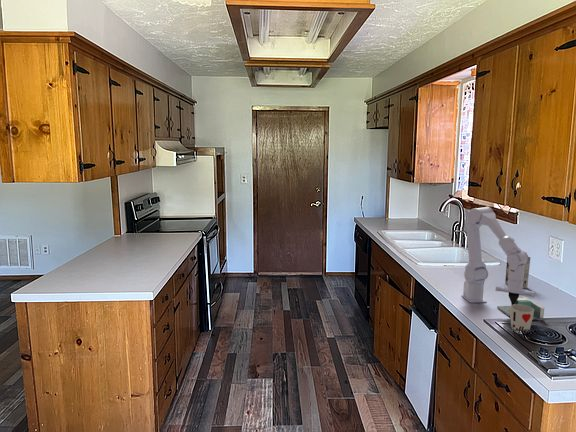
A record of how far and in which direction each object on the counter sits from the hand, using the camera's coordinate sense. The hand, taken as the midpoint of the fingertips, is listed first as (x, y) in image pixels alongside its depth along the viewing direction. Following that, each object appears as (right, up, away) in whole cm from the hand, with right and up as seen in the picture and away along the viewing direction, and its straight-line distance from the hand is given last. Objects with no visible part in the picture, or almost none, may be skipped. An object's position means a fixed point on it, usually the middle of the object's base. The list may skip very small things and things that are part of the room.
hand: (512, 309), depth 184 cm
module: (+4, -1, +1) cm, 5 cm away
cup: (-6, -5, -17) cm, 19 cm away
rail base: (+3, -2, 0) cm, 4 cm away
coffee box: (+21, +4, +37) cm, 43 cm away
